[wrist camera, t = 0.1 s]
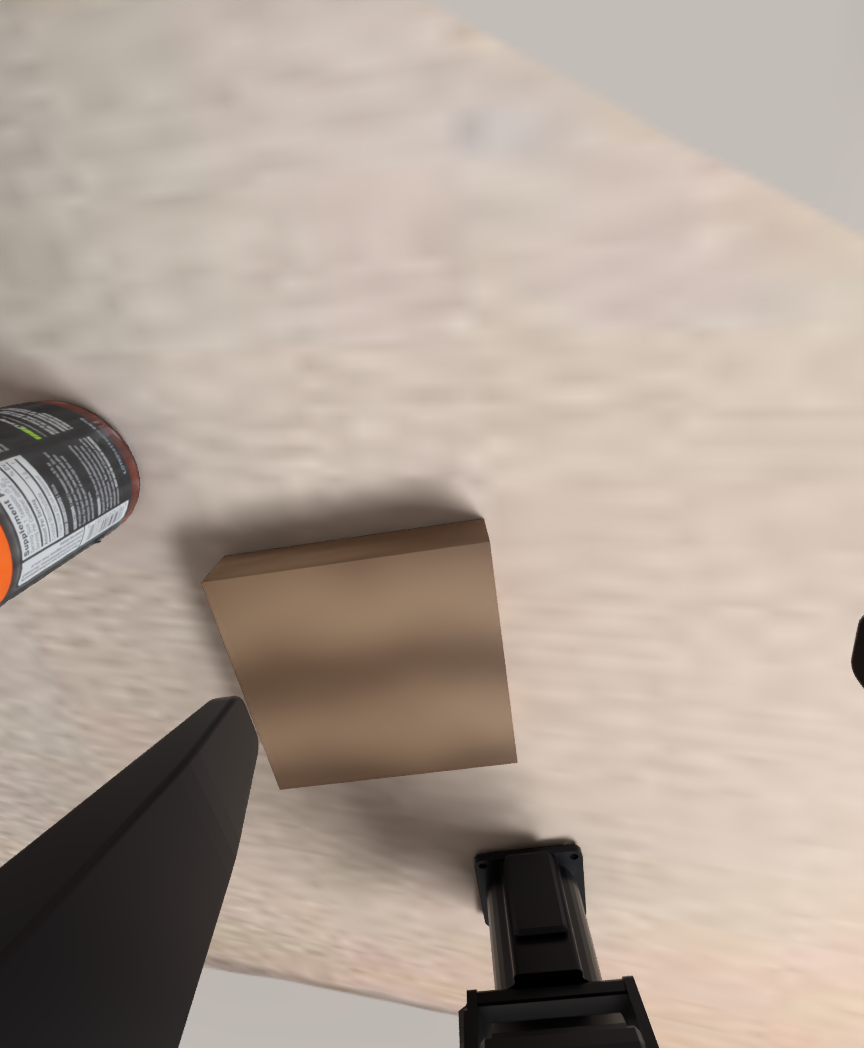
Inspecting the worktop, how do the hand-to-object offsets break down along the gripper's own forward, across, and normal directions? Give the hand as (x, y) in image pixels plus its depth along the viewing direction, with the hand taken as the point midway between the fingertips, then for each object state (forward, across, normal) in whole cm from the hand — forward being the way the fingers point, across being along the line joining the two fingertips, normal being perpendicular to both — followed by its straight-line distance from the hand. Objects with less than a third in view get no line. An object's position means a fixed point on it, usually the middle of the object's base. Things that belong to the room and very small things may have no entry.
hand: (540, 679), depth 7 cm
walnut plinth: (+14, +6, +9) cm, 18 cm away
